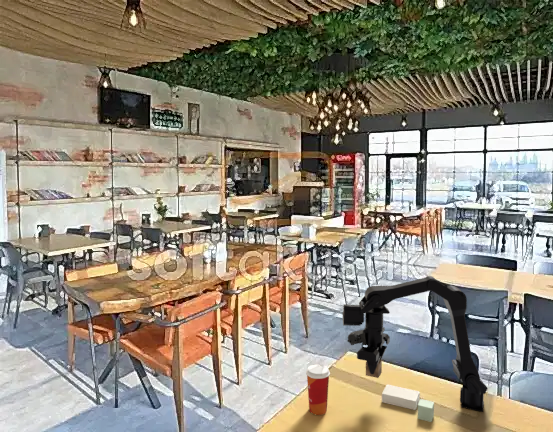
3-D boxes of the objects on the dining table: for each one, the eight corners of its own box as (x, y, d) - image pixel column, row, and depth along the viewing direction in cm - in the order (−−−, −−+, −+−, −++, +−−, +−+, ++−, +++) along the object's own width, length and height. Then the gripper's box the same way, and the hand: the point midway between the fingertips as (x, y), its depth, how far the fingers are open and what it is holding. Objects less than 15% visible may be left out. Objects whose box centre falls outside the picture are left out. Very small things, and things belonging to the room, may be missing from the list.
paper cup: (312, 401, 145) (312, 361, 144) (333, 408, 141) (333, 366, 140) (301, 413, 138) (301, 371, 137) (323, 419, 134) (323, 376, 133)
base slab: (419, 400, 146) (419, 391, 145) (415, 410, 139) (415, 401, 139) (386, 392, 151) (386, 384, 150) (381, 402, 144) (381, 393, 144)
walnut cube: (381, 372, 145) (381, 359, 144) (378, 378, 141) (378, 364, 140) (369, 370, 147) (369, 357, 146) (365, 375, 143) (365, 362, 142)
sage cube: (433, 415, 136) (434, 401, 136) (431, 422, 133) (432, 408, 132) (419, 412, 138) (420, 398, 138) (417, 418, 135) (417, 405, 134)
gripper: (358, 313, 154) (358, 355, 156) (341, 331, 138) (341, 377, 139) (390, 318, 149) (389, 361, 150) (375, 336, 132) (375, 385, 134)
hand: (373, 371), depth 144 cm, fingers closed on walnut cube, 4 cm apart
